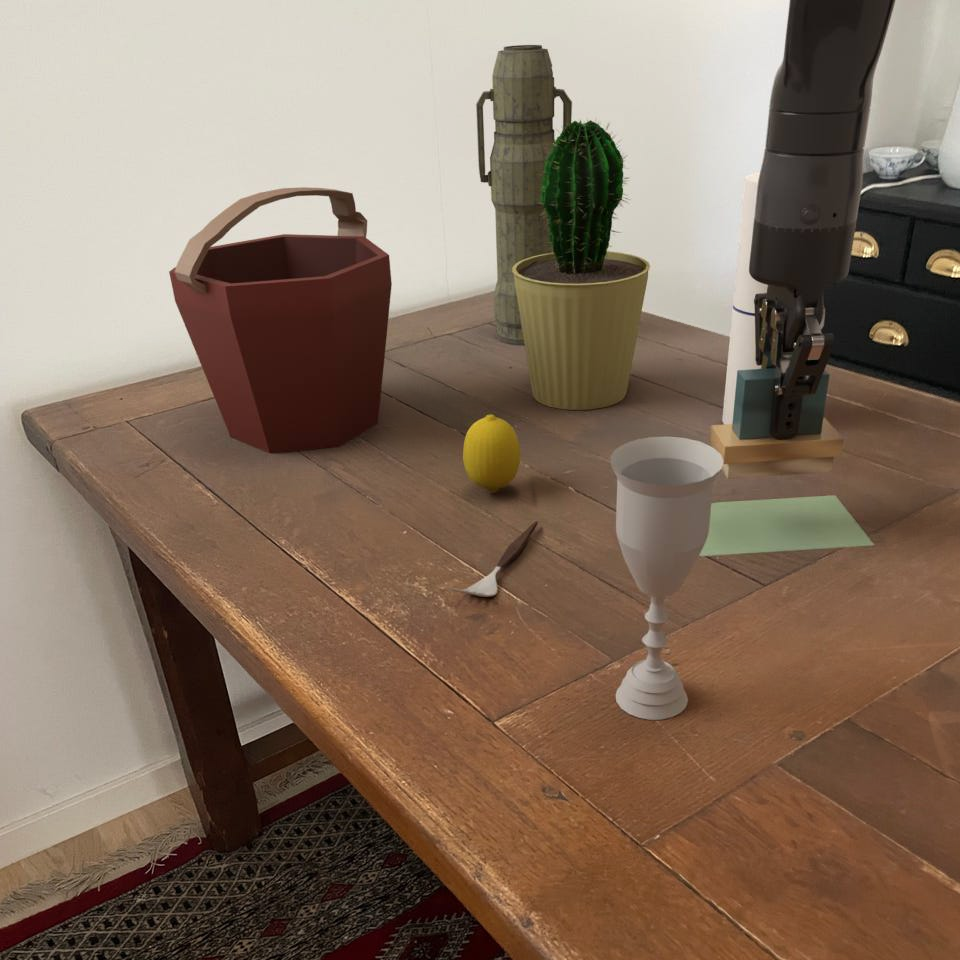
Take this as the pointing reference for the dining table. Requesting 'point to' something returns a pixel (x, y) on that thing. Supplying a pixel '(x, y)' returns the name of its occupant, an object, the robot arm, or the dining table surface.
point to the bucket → (289, 325)
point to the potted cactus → (581, 279)
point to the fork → (499, 567)
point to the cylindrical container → (743, 302)
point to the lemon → (491, 453)
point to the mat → (781, 526)
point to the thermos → (518, 167)
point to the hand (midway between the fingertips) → (777, 428)
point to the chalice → (661, 549)
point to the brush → (754, 446)
